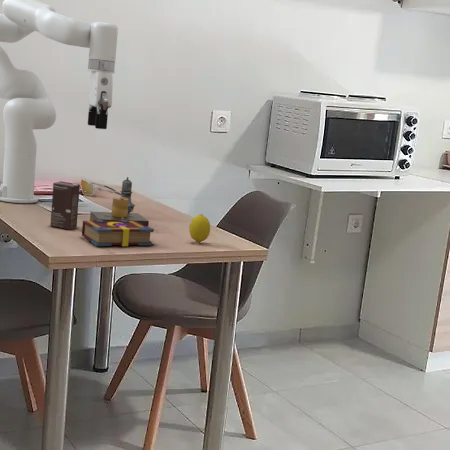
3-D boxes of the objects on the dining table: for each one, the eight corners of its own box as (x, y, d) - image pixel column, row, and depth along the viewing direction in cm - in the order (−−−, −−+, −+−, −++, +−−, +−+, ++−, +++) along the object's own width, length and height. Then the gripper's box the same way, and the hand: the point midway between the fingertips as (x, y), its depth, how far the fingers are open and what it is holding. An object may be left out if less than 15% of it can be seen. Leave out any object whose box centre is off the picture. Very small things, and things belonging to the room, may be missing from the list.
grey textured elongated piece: (130, 218, 225) (133, 179, 222) (111, 215, 226) (115, 176, 223) (136, 215, 230) (140, 177, 228) (118, 213, 231) (121, 174, 229)
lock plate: (98, 230, 203) (99, 218, 203) (89, 221, 213) (90, 210, 213) (147, 231, 209) (149, 220, 208) (137, 223, 219) (137, 212, 218)
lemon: (187, 240, 203) (190, 211, 202) (207, 242, 204) (211, 213, 202) (188, 244, 198) (191, 215, 196) (209, 246, 198) (212, 217, 197)
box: (49, 226, 201) (52, 182, 199) (58, 224, 205) (61, 180, 203) (69, 230, 199) (72, 185, 197) (77, 227, 203) (81, 184, 201)
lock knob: (110, 214, 212) (111, 195, 211) (125, 214, 213) (127, 196, 212) (113, 217, 208) (114, 198, 207) (128, 217, 209) (130, 199, 208)
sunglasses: (74, 189, 267) (77, 175, 266) (114, 196, 274) (117, 183, 273) (84, 196, 254) (87, 181, 254) (125, 203, 261) (129, 189, 260)
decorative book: (80, 237, 193) (82, 218, 192) (138, 236, 201) (139, 218, 200) (96, 247, 183) (98, 227, 182) (156, 246, 192) (158, 227, 191)
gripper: (122, 69, 208) (117, 131, 211) (107, 67, 223) (102, 125, 226) (95, 66, 205) (90, 129, 208) (82, 65, 220) (77, 123, 223)
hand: (96, 127), depth 217 cm, fingers open, 9 cm apart
